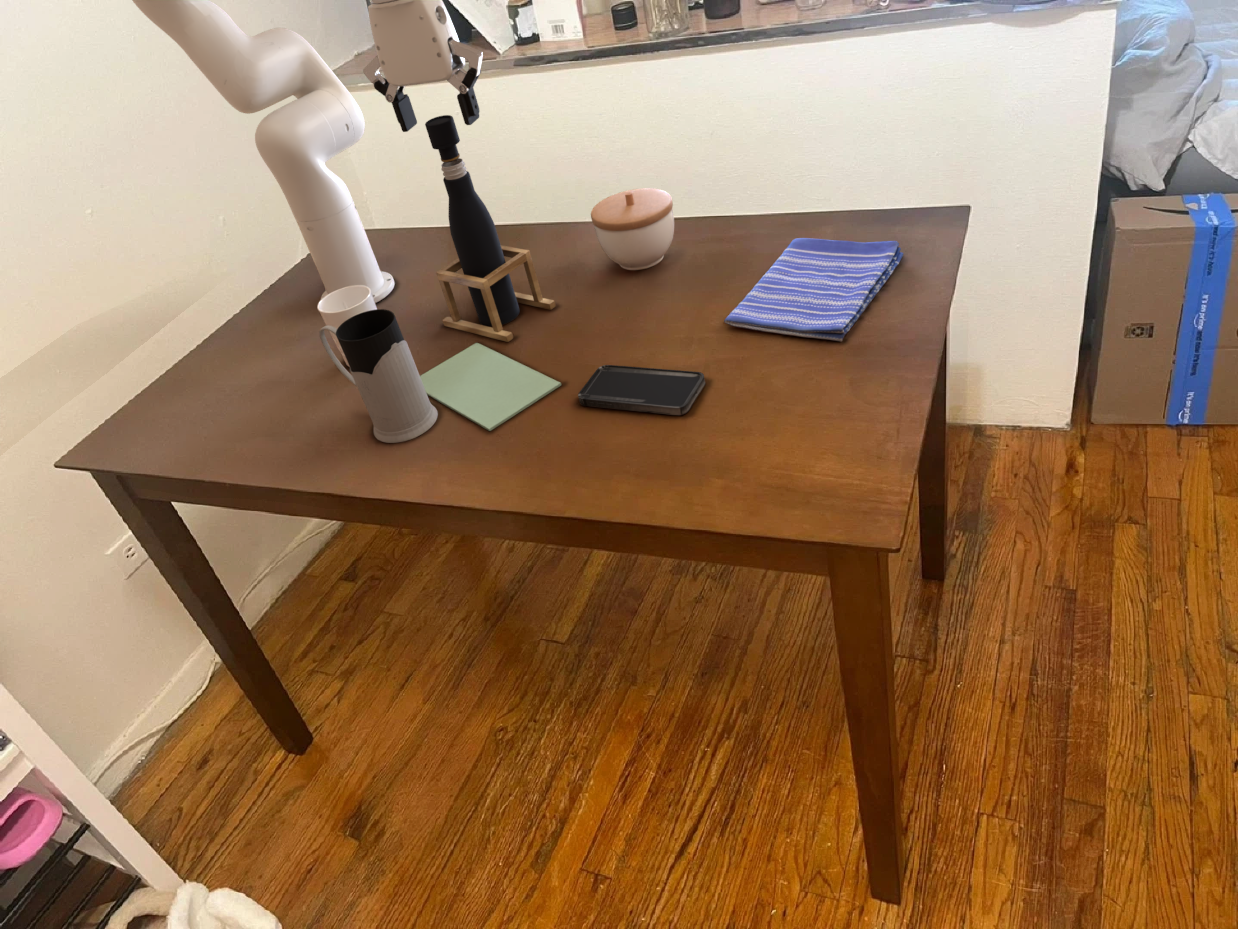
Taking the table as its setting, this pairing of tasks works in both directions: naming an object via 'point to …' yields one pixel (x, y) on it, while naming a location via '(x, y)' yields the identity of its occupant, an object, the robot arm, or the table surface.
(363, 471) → the table surface
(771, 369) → the table surface
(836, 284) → the dish towel
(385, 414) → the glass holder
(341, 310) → the white cup
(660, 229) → the lidded bowl
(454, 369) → the mat
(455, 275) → the bottle stand
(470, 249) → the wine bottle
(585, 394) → the phone
